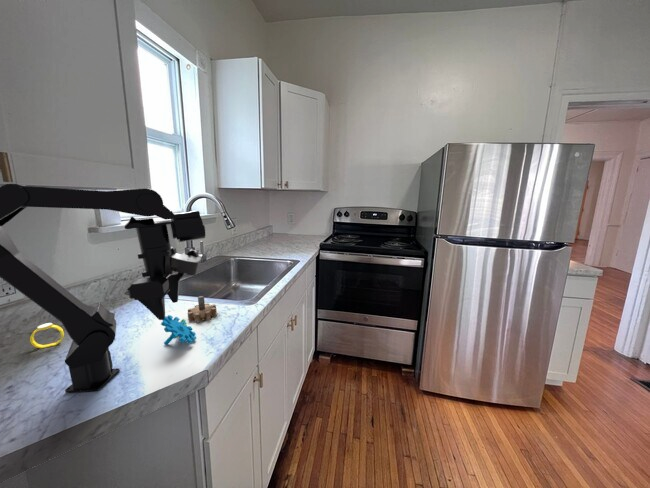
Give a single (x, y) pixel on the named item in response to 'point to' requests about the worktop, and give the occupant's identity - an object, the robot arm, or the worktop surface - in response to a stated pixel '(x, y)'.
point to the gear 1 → (178, 329)
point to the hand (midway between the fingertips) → (169, 310)
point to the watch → (43, 327)
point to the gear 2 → (202, 311)
